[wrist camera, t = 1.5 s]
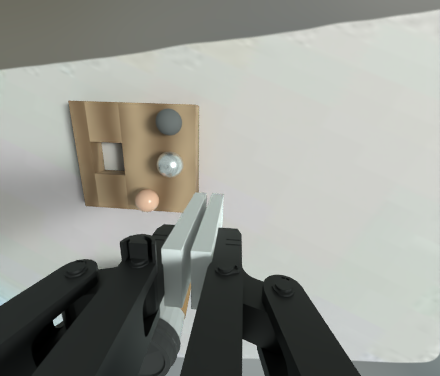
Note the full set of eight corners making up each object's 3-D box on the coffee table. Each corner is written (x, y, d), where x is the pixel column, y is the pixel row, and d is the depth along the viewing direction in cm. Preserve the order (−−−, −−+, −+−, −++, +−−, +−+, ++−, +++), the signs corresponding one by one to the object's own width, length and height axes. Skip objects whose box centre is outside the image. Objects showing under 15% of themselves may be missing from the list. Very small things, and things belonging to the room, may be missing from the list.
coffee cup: (144, 260, 39) (88, 343, 24) (183, 243, 37) (148, 321, 23) (168, 295, 41) (130, 391, 26) (207, 280, 39) (188, 374, 25)
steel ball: (162, 173, 31) (153, 179, 28) (161, 149, 30) (151, 152, 27) (186, 174, 31) (179, 181, 27) (186, 150, 30) (179, 154, 26)
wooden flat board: (95, 200, 36) (85, 206, 33) (81, 102, 31) (68, 100, 29) (198, 206, 35) (195, 213, 32) (198, 105, 30) (195, 104, 28)
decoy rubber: (161, 134, 29) (152, 135, 26) (160, 108, 28) (150, 107, 25) (184, 135, 29) (178, 137, 26) (184, 109, 28) (177, 108, 25)
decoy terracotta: (141, 206, 33) (131, 215, 30) (140, 185, 32) (129, 192, 29) (162, 207, 32) (154, 216, 29) (161, 186, 31) (153, 194, 28)
